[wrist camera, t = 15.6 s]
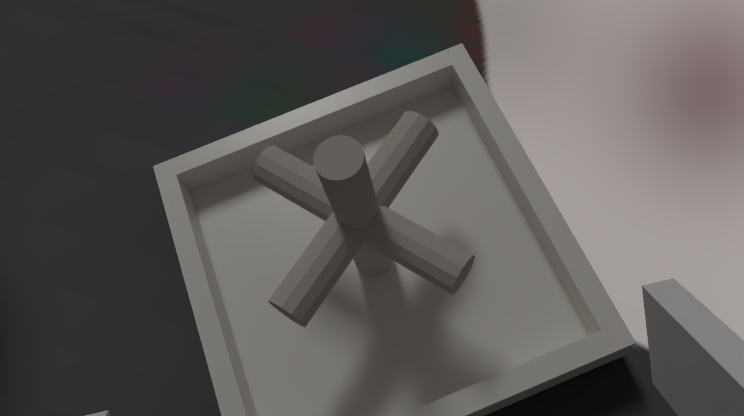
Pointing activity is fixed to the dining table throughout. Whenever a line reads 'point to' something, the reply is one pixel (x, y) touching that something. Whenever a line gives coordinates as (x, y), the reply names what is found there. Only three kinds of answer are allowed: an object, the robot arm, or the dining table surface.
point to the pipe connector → (358, 215)
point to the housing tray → (398, 284)
